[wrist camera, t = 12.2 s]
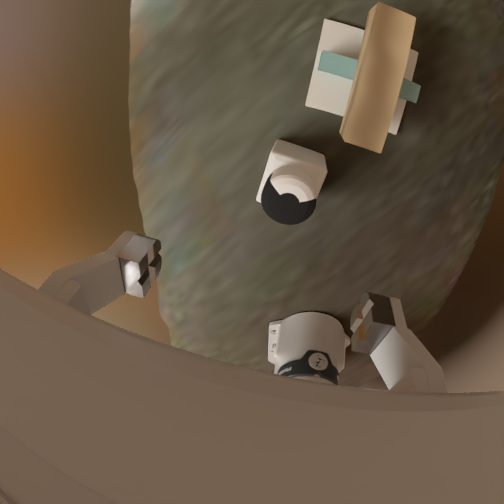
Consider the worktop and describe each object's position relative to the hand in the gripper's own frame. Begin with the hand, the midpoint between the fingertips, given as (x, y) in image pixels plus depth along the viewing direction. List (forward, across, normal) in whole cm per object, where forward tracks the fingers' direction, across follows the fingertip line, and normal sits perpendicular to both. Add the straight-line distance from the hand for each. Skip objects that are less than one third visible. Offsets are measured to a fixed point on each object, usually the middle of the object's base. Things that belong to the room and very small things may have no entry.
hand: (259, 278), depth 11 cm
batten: (+25, -7, -10) cm, 28 cm away
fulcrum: (+31, -7, -10) cm, 33 cm away
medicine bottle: (+31, -1, +6) cm, 32 cm away
